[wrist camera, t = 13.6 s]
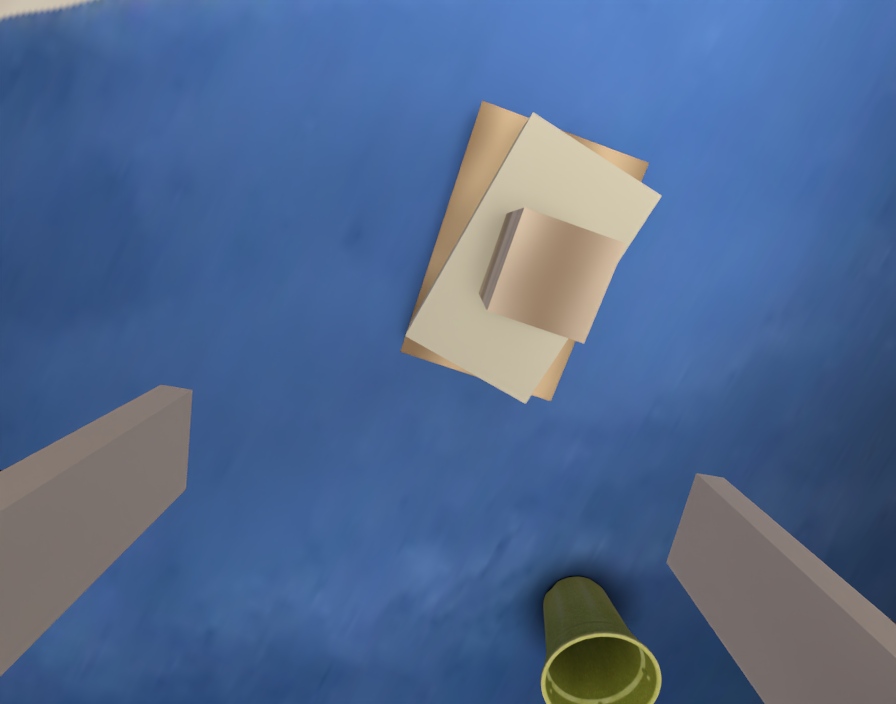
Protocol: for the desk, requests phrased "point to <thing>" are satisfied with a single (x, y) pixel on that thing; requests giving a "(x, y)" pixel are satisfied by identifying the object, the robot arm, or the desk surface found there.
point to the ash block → (549, 273)
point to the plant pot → (593, 650)
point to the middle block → (458, 283)
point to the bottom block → (474, 177)
